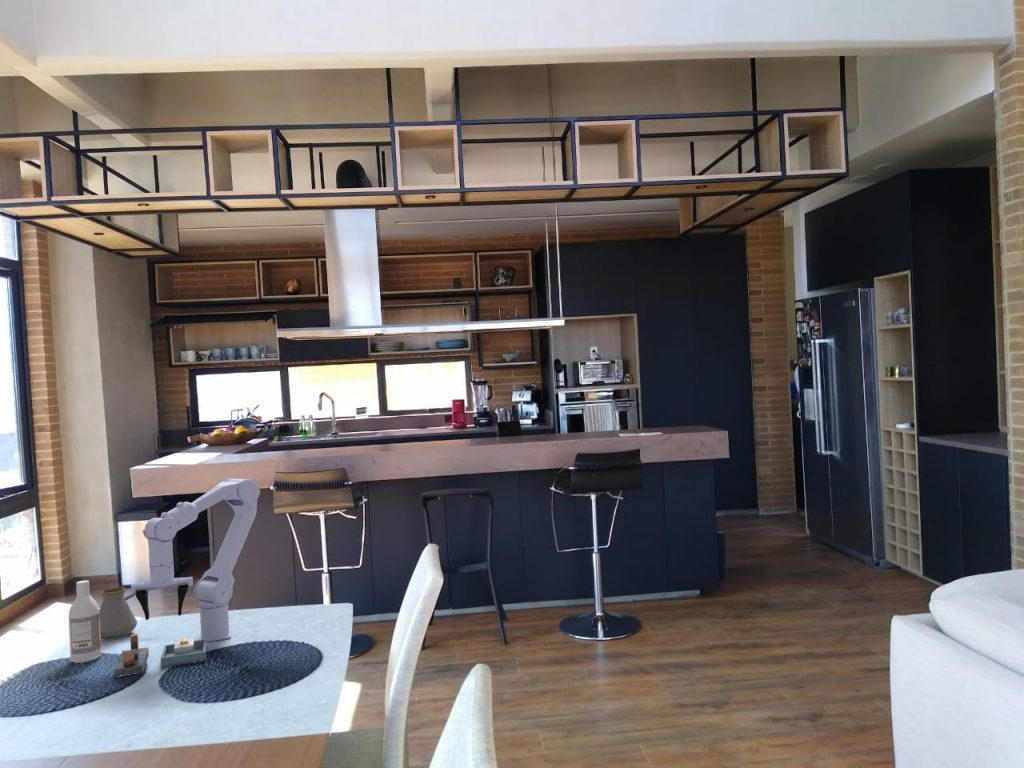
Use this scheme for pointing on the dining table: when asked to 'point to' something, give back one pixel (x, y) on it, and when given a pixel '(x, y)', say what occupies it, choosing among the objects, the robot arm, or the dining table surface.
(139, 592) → the robot arm
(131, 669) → the hand plane
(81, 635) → the bath foam
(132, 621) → the coffee pot
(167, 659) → the tray
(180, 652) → the white yellow block
